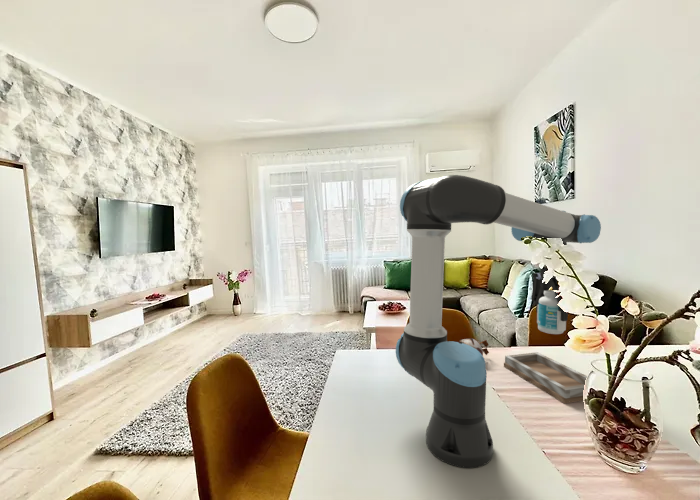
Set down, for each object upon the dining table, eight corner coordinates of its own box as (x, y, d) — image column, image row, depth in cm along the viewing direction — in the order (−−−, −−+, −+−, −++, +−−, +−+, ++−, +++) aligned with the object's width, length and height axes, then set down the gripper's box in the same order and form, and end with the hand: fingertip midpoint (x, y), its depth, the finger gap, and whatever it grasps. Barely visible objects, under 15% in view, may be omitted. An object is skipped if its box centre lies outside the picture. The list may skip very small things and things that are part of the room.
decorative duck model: (467, 353, 117) (438, 339, 130) (467, 373, 118) (439, 357, 131) (496, 342, 123) (465, 330, 137) (496, 361, 124) (466, 347, 138)
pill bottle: (546, 335, 104) (547, 293, 103) (533, 328, 112) (534, 289, 111) (569, 334, 104) (570, 293, 103) (555, 327, 112) (556, 288, 111)
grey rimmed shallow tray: (605, 396, 98) (605, 384, 98) (563, 403, 95) (564, 390, 94) (538, 362, 123) (538, 352, 123) (503, 366, 120) (503, 356, 120)
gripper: (591, 260, 97) (588, 335, 99) (538, 255, 117) (536, 317, 118) (570, 261, 95) (568, 337, 97) (520, 255, 115) (518, 319, 117)
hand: (550, 326), depth 108 cm, fingers closed on pill bottle, 7 cm apart
